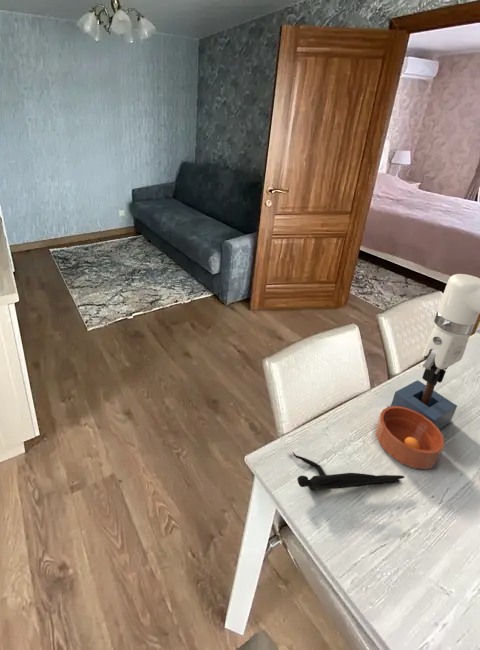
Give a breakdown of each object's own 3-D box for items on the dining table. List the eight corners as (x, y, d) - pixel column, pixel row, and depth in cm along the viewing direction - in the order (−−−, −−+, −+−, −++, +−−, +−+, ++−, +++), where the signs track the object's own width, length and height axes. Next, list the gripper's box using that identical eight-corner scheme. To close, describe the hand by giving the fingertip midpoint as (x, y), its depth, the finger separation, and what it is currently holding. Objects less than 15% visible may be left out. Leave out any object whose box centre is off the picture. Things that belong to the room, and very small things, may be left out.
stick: (430, 403, 94) (443, 364, 90) (426, 405, 93) (438, 366, 89) (424, 398, 96) (435, 360, 91) (419, 400, 95) (431, 362, 91)
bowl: (448, 456, 85) (456, 439, 83) (415, 480, 80) (422, 462, 77) (396, 415, 96) (401, 399, 94) (363, 434, 91) (368, 417, 88)
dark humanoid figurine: (391, 437, 82) (291, 439, 80) (413, 479, 75) (304, 483, 73) (376, 450, 87) (281, 453, 85) (395, 491, 81) (292, 495, 78)
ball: (421, 439, 84) (424, 453, 84) (411, 433, 88) (414, 447, 87) (409, 441, 84) (411, 455, 84) (400, 435, 87) (402, 449, 87)
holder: (450, 422, 94) (457, 405, 92) (428, 436, 90) (434, 420, 88) (412, 395, 103) (417, 379, 101) (390, 407, 99) (395, 391, 96)
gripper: (452, 340, 79) (428, 400, 86) (488, 322, 85) (463, 380, 92) (418, 322, 85) (399, 380, 92) (454, 307, 91) (434, 362, 98)
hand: (431, 380), depth 92 cm, fingers closed on stick, 1 cm apart
